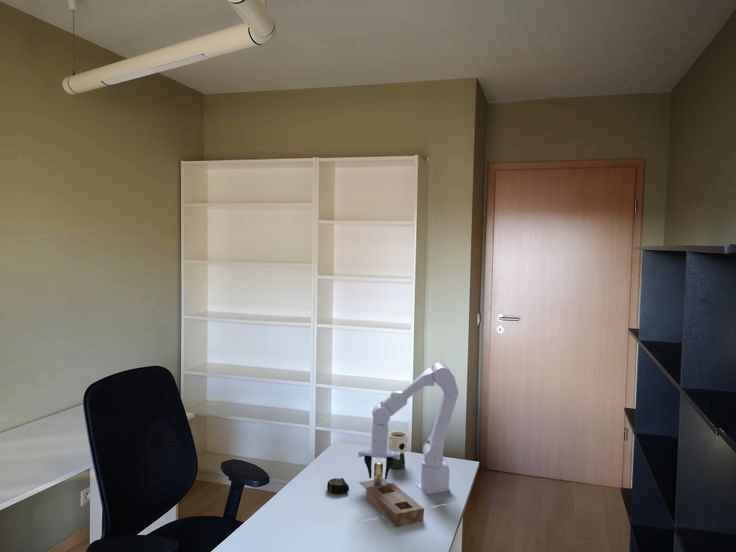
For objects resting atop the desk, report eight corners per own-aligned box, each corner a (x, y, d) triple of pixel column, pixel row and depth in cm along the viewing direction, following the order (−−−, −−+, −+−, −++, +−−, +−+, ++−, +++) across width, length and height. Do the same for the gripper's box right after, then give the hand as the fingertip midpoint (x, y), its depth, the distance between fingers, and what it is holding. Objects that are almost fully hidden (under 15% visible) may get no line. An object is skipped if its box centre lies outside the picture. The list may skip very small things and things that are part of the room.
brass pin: (379, 483, 205) (380, 461, 205) (383, 486, 203) (384, 464, 202) (372, 484, 204) (373, 462, 203) (375, 488, 201) (376, 465, 201)
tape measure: (349, 495, 196) (349, 484, 196) (329, 497, 194) (330, 486, 194) (344, 486, 203) (344, 476, 203) (324, 488, 201) (325, 478, 200)
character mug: (396, 474, 215) (398, 440, 214) (381, 469, 219) (382, 435, 218) (412, 465, 224) (413, 432, 223) (396, 460, 228) (398, 428, 227)
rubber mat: (383, 479, 210) (383, 478, 210) (397, 490, 201) (397, 489, 201) (358, 483, 206) (358, 482, 206) (371, 495, 197) (371, 494, 197)
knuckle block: (392, 494, 198) (392, 482, 198) (423, 520, 180) (423, 508, 180) (366, 499, 194) (366, 487, 193) (395, 526, 176) (395, 513, 175)
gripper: (358, 442, 199) (356, 480, 200) (400, 444, 198) (398, 483, 199) (359, 435, 206) (358, 472, 207) (400, 437, 205) (398, 475, 206)
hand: (378, 477), depth 203 cm, fingers open, 5 cm apart
